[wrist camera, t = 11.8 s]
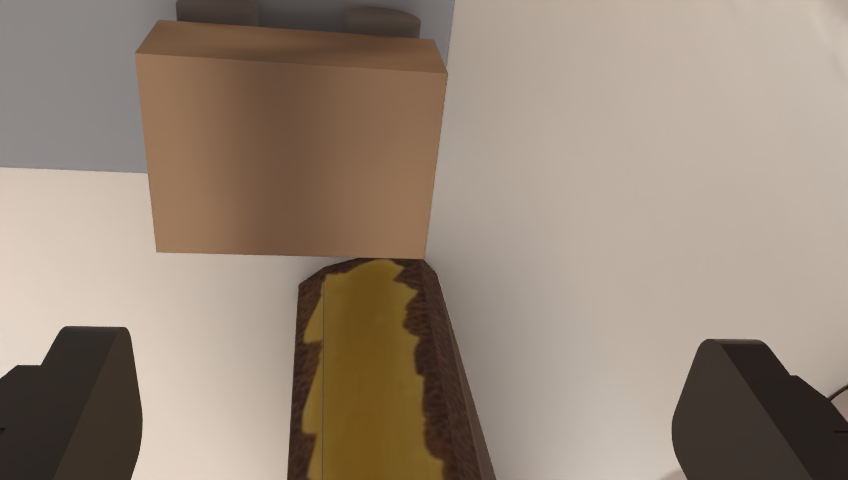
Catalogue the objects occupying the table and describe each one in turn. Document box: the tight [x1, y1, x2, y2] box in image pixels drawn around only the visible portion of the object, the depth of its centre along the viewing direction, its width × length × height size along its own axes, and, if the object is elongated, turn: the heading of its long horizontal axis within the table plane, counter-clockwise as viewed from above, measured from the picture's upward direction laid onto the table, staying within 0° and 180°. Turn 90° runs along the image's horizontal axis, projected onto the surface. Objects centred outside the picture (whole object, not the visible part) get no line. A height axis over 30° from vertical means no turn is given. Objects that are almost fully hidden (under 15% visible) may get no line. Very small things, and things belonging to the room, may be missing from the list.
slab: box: [135, 0, 448, 259], centre depth 22 cm, size 8×6×5 cm
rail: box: [0, 0, 455, 173], centre depth 23 cm, size 21×7×6 cm, turn 84°
